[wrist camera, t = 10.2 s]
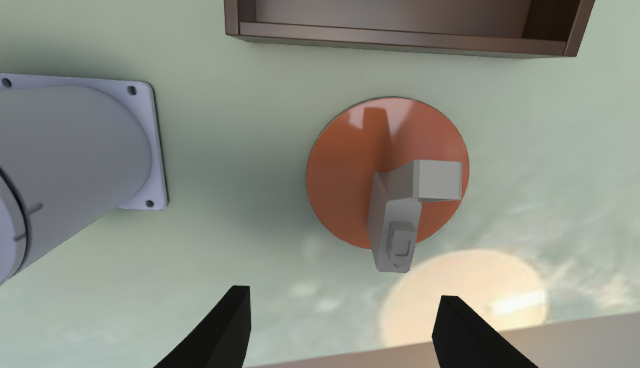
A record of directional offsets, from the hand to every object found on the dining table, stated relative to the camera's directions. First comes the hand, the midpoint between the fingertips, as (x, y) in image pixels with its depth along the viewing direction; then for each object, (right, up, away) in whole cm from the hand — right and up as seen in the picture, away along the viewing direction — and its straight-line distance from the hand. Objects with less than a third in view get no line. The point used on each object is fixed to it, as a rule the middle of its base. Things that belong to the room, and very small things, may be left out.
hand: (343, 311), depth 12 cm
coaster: (+3, +5, +8) cm, 10 cm away
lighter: (+3, +5, +8) cm, 10 cm away
